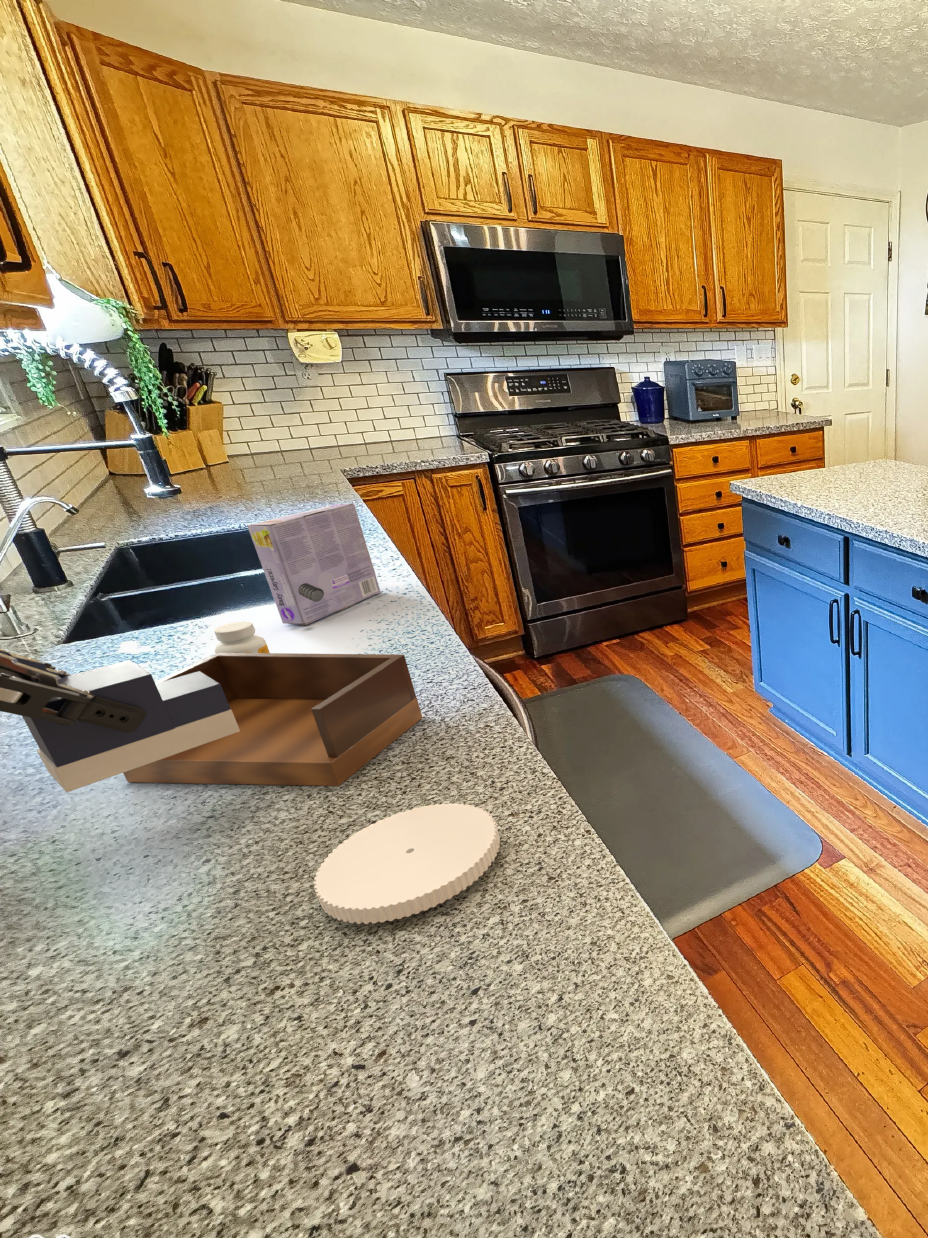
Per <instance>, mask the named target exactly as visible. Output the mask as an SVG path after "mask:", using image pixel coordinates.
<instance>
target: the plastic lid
mask: <svg viewBox="0 0 928 1238" xmlns="http://www.w3.org/2000/svg"><path fill="white" fill-rule="evenodd" d="M500 840H501V838H500V835H499V830H498V826H497V823H496V821H495V818H494V816H493V815H491V813H490V812H487V810H484V808H480V806H475V805H473V804H472V805H470V804H468V803H467V804H464V803H458V802H455V803H452V802H448V803H441V804H439V803H436V804H433V805H432V804H429V805H427V806H425V805H423V806H422V805H421V806H420V807H414V808H413V809H406V810H405V811H399V812H398V813H397V814H391V815H390V816H386V817H384V818H383V819H381V820H377V821H376V822H374V823H371V824H368V826H367V827H366V826H365V827H363V828H362V829H361V830H360V831H356V832H355V834H353V835H350V836H349V837H348V838H347V839H344V840H343V841H342V843H340V844H338V845H337V847H336V848H334V849H332V850H331V851H332V852H331V853H328V854H327V857H325V858H324V859H323V862H321V863H320V867H318V868H317V872H316V873H315V877H314V878H313V880H314V881H313V888H314V892H315V895H316V897H317V899H318V902H319V904H320V907H321V908H322V910H323V911H324V913H326V914H327V915H328V916H329V917H332V919H337V921H342V922H344V923H347V922H349V924H353V923H356V924H357V925H360V924H362V923H363V924H364V925H369V923H371V924H377V923H379V922H380V923H382V924H383V923H385V922H386V921H388V922H392V921H394V920H396V919H397V920H402V918H405V917H406V918H409V917H411V916H412V915H414V914H415V915H417V914H420V912H426V911H428V910H429V909H430V908H435V907H437V905H439V904H444V903H445V902H446V901H447V900H451V899H452V898H453V897H454V896H457V895H459V894H460V893H461V892H462V891H466V890H467V887H469V886H472V885H473V884H474V882H477V881H478V880H479V878H480V877H482V876H483V875H484V872H487V871H488V869H489V868H488V867H491V866H492V863H493V862H494V861H495V858H496V857H497V855H498V854H497V853H499V849H500V847H501V846H500V844H501V841H500Z"/></svg>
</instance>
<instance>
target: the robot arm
mask: <svg viewBox="0 0 928 1238" xmlns="http://www.w3.org/2000/svg"><path fill="white" fill-rule="evenodd" d="M70 675H71V674H70V673H67V670H63V669H57V667H56V666H53V664H51V663H49V662H47V661H46V662H42V661H40V660H37V659H35V658H32V657H29V656H24V655H22V654H21V655H20V654H16V653H12V652H9V651H7V650H5V649H3V648H1V647H0V712H2V713H8V714H12V715H16V716H21V717H22V716H26V717H31V718H35V719H40V720H45V721H49V722H54V723H57V724H60V725H64V726H65V725H69V726H72V725H73V723H74V722H76V721H77V720H78V721H82V722H86V723H90V724H94V725H99V726H103V727H107V728H111V729H115V730H119V731H123V732H133V731H135V730H136V729H137V728H138V726H139V725H140V723H141V722H142V721H143V719H144V718H145V717H146V715H147V713H146V711H145V710H144V709H142V708H140V707H137V706H133V705H130V704H126V703H122V702H119V701H115V700H111V699H108V698H104V697H100V696H97V695H94V694H92V693H91V692H90V691H87V690H80V689H77V688H74V687H70V686H67V685H64V684H63V683H62V680H61V678H62V677H66V676H70ZM39 683H40V684H39ZM53 697H60V698H64V699H67V701H66V702H65V703H64V704H63V706H62V707H61V708H60V710H59V709H55V708H51V707H47V706H45V705H46V704H47V703H48V701H49V700H50V699H51V698H53Z"/></svg>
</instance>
